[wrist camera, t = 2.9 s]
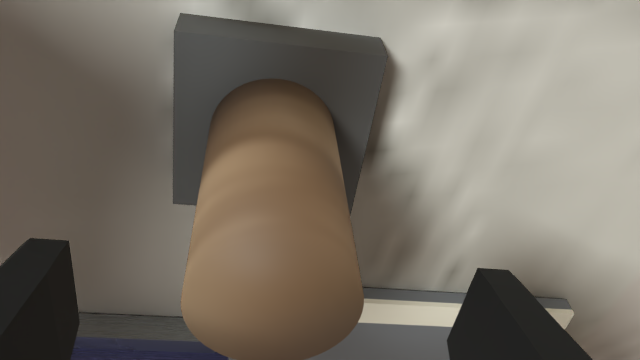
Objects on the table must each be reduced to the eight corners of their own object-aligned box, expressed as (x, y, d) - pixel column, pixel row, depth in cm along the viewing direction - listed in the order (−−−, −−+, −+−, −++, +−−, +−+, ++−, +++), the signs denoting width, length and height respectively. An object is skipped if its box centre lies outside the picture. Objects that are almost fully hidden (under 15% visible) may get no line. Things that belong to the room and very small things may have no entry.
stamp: (178, 178, 17) (131, 388, 11) (180, 12, 14) (119, 181, 8) (345, 192, 17) (381, 395, 12) (379, 36, 15) (449, 207, 9)
